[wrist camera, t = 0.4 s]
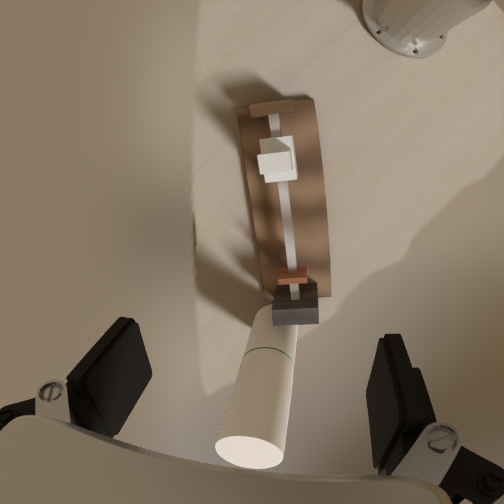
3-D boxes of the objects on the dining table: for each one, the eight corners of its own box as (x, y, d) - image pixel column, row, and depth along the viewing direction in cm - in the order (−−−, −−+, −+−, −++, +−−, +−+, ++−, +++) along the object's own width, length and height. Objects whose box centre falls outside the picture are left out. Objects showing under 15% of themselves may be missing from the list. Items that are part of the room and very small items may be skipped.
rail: (238, 109, 38) (223, 105, 31) (313, 99, 36) (314, 92, 29) (266, 296, 48) (258, 326, 41) (331, 292, 46) (333, 322, 39)
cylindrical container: (250, 332, 52) (211, 458, 29) (260, 298, 49) (220, 428, 26) (290, 344, 51) (272, 473, 28) (303, 310, 48) (292, 446, 25)
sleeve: (263, 138, 36) (253, 140, 29) (292, 135, 36) (289, 136, 29) (269, 178, 38) (260, 189, 31) (298, 175, 37) (295, 185, 30)
